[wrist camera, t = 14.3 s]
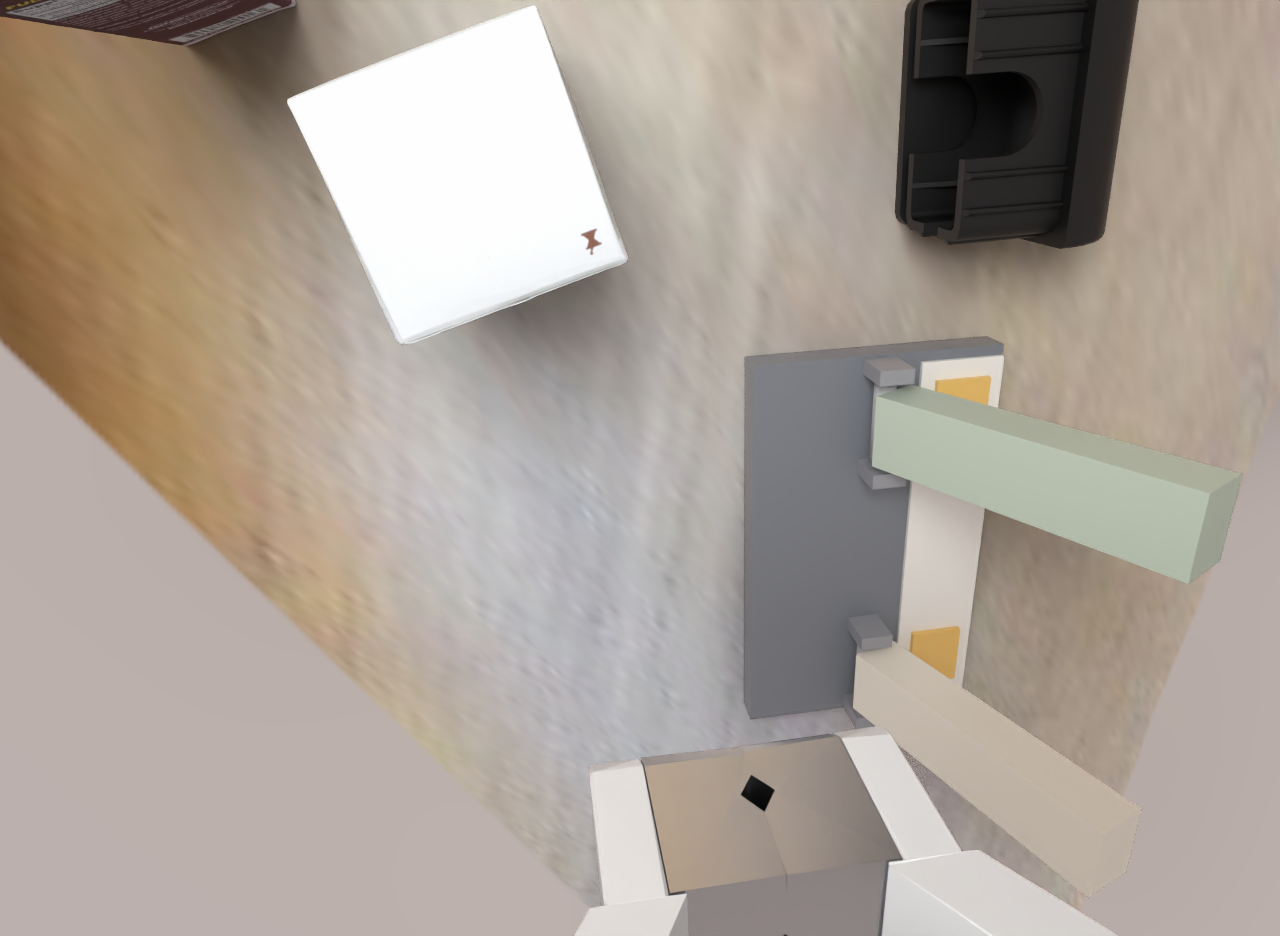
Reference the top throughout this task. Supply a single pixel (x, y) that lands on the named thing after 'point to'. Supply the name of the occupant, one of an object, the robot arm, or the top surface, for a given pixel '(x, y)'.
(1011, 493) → the bar
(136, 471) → the top surface
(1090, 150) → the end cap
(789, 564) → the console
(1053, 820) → the bar
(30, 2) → the supplement box
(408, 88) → the supplement box
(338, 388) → the top surface
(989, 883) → the robot arm
